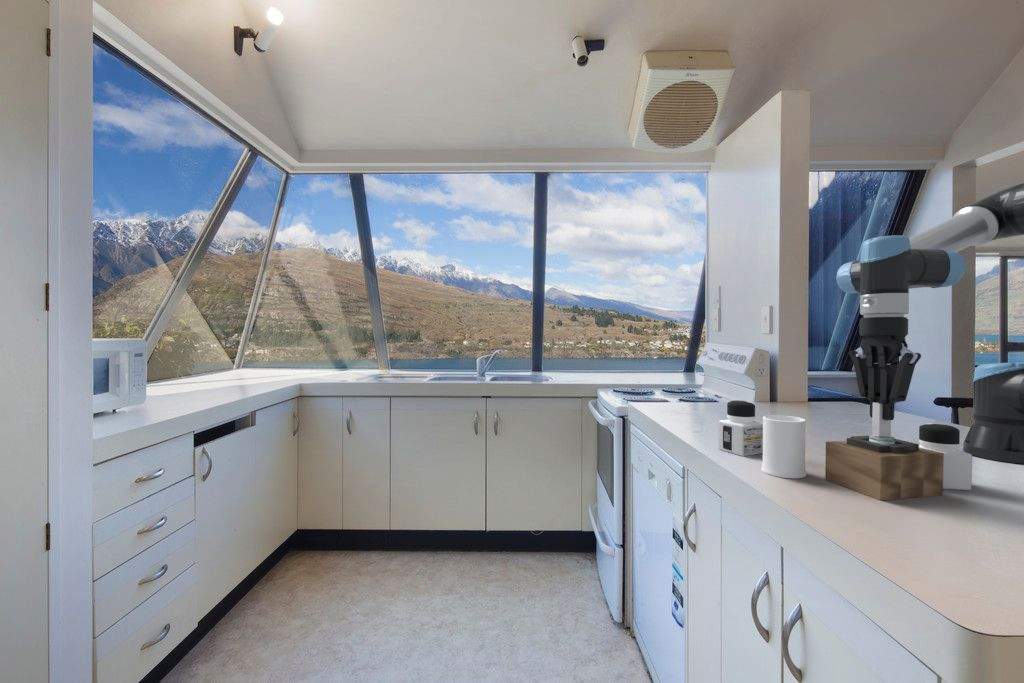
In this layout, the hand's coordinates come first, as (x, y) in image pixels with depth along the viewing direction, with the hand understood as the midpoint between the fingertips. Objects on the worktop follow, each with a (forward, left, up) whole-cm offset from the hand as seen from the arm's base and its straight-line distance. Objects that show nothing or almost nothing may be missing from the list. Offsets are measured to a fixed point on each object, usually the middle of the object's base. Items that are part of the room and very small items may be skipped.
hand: (881, 435), depth 92 cm
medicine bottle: (-13, 0, -11) cm, 17 cm away
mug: (+11, -13, -11) cm, 20 cm away
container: (+9, -30, -11) cm, 33 cm away
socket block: (0, 0, -10) cm, 10 cm away
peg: (0, 0, -9) cm, 9 cm away
